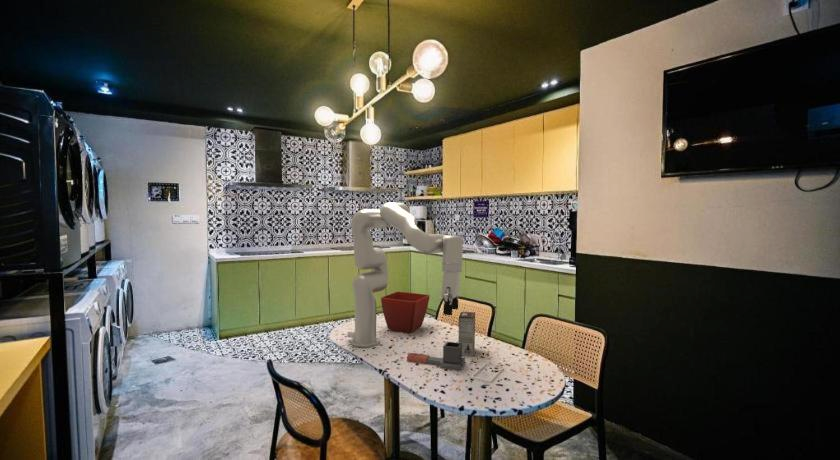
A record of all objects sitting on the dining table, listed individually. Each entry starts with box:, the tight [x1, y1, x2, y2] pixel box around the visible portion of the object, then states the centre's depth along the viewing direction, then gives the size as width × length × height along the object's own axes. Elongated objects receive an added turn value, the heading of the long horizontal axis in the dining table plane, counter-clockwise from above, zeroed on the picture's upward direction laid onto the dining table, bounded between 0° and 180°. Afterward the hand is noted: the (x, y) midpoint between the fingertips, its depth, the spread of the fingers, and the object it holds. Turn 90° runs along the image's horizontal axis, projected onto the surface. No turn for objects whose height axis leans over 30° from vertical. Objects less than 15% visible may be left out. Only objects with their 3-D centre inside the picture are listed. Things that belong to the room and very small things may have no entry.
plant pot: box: [380, 291, 431, 334], centre depth 198 cm, size 19×19×17 cm
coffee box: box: [458, 311, 476, 356], centre depth 166 cm, size 9×6×16 cm
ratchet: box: [406, 352, 466, 371], centre depth 153 cm, size 22×8×6 cm, turn 72°
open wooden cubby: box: [442, 341, 463, 364], centre depth 151 cm, size 6×6×6 cm
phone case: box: [471, 362, 504, 384], centre depth 144 cm, size 7×1×15 cm
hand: (450, 311), depth 151 cm, fingers open, 9 cm apart
